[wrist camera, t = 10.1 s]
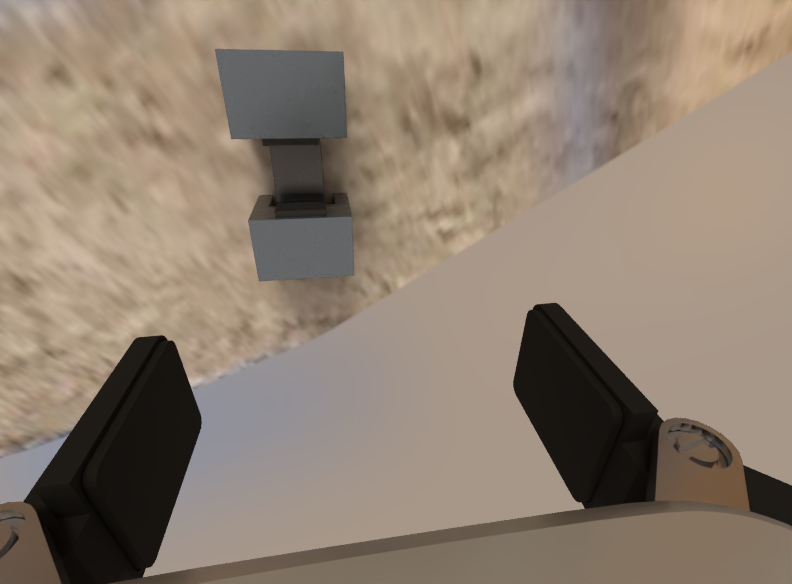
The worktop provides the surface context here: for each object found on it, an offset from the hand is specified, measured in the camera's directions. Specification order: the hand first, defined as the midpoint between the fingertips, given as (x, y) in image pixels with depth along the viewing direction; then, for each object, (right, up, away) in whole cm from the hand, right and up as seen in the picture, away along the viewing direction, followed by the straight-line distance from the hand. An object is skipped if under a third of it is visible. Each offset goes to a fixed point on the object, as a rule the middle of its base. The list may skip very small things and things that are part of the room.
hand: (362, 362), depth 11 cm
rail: (-6, +10, +16) cm, 20 cm away
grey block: (-6, +7, +18) cm, 20 cm away
